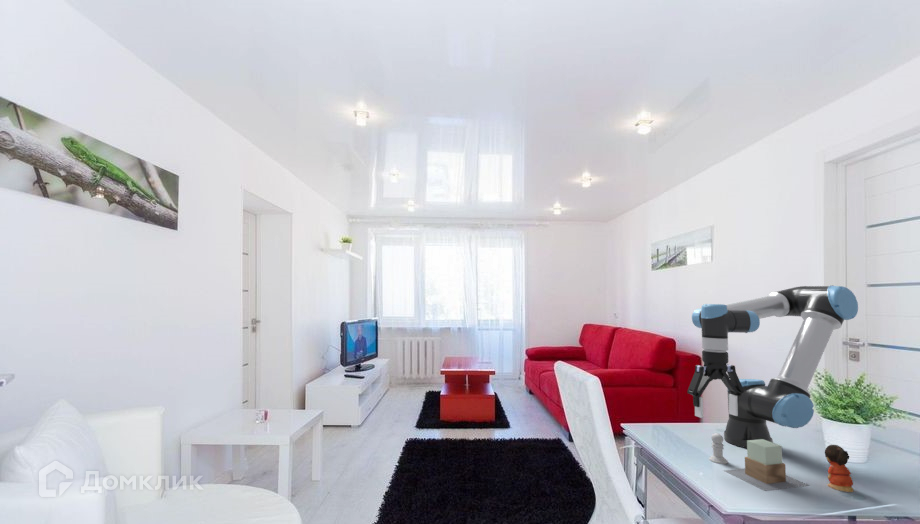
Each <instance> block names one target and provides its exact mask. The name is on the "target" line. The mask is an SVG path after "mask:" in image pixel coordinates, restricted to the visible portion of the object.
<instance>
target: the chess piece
mask: <svg viewBox="0 0 920 524" xmlns="http://www.w3.org/2000/svg"><path fill="white" fill-rule="evenodd" d="M711 442H712V443H711V447H712V455H711V456H709V457H708V460H709V461H710V462H712V463H715V464H719V465H720V464H721V465H727V464H728V462H729V461H728V459H727V458H726V457H724V456H723V454H724V453H723V450H725V449H724V444H723V442H724V436H723V435H721V434H720V433H718V432H717V433H716V432H715V433H712V435H711Z"/></svg>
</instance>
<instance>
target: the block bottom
mask: <svg viewBox="0 0 920 524" xmlns="http://www.w3.org/2000/svg"><path fill="white" fill-rule="evenodd" d="M744 468H745V474H747V475H749V476H751V477H753V478H755V479H757V480H759V481H761V482H764V483H766V484H770V483H779V482H786V475H787V474H786V463H785V462H784V463H783V462H782V464H772V465H764V464H762V463H759V462H757V461H755V460H752V459H750V458H748V457H747V456H744Z"/></svg>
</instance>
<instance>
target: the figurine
mask: <svg viewBox="0 0 920 524" xmlns="http://www.w3.org/2000/svg"><path fill="white" fill-rule="evenodd" d="M824 456H825V458H826V460H827V462H828V464H829V465H830V466H829V467H828V470H827V473H828V475H827V479H828V482H829V483H827V487H829V488H831V489H833V490H836V491H841V492H847V493H853V492H854V491H855V490H854V488H853V487H852V486H853V485H854V481H853V478H852V476H851V475H852V472H850V470H849V468H848V467H847V466H846V464H847V463H849V462H848V460H849V459H850V456H849V453H848V451H847V450H845V449H844V448H843V447H841V446H840V445H837V444H829V445H828V446H827V447H826V448H825V449H824Z"/></svg>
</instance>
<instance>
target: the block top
mask: <svg viewBox="0 0 920 524" xmlns="http://www.w3.org/2000/svg"><path fill="white" fill-rule="evenodd" d="M746 450H747V451H746V452H747V453H746V454H747V456H746V457H748V458H750V459H752V460H755V461H757V462H759V463H762V464H764V465H772V464H782V463H783V450H782V445H781V444H777V443H774V442H773V443H772V442H769V441H767V440H764V439H759V440H747V448H746Z"/></svg>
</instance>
